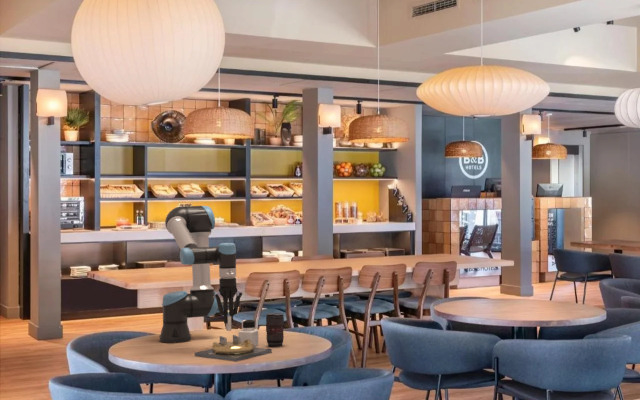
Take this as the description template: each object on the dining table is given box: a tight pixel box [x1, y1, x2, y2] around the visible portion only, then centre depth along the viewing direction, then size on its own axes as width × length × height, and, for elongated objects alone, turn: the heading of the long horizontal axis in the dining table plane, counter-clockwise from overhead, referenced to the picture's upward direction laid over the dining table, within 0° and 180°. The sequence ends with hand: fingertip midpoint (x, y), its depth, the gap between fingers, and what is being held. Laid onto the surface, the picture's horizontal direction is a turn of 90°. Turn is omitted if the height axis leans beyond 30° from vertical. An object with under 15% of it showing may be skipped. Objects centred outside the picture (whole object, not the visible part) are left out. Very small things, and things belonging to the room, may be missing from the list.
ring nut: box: [212, 334, 254, 354], centre depth 405 cm, size 18×18×5 cm
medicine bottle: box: [238, 319, 259, 347], centre depth 426 cm, size 7×7×12 cm
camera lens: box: [265, 312, 285, 348], centre depth 424 cm, size 8×8×15 cm
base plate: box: [194, 346, 273, 362], centre depth 405 cm, size 24×24×2 cm
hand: (228, 330), depth 410 cm, fingers closed
